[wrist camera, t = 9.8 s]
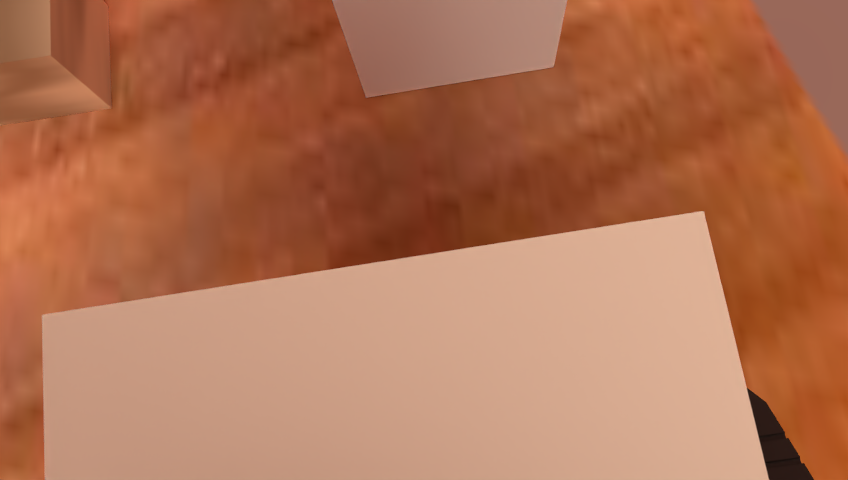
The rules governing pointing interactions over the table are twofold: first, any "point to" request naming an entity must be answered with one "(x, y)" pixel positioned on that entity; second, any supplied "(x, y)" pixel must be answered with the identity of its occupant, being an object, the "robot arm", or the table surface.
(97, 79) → the letter cube
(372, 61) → the grey cover
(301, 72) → the table surface
